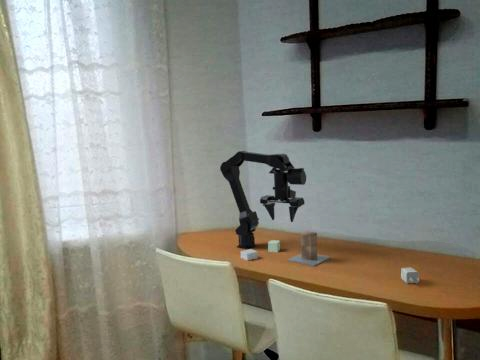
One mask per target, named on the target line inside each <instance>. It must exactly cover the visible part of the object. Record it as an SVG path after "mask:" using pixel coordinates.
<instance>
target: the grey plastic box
mask: <svg viewBox="0 0 480 360" xmlns="http://www.w3.org/2000/svg"><path fill="white" fill-rule="evenodd" d="M258 256H259V255H258V251H257V250H254V249H252V248H249V249H245V250H244V249H243V250H240V259H242V258H243V259H242V260H245V261H246V262H247V261H248V260H249V261H251V260H252V259H253V260H256V259H259V257H258ZM253 260H252V261H253Z"/></svg>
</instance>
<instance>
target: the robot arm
mask: <svg viewBox="0 0 480 360" xmlns="http://www.w3.org/2000/svg"><path fill="white" fill-rule="evenodd" d="M244 162H252V163H258V164H265V165H267V166H268V167H271V170H269V172H268V174H271V175H272V174H273V183H274V186H273V187H272V190H274V195H262V196H261V197H260V198H259V204H261V205H262V206H263V207H264V209H265V210H267V213H268V214H269V216H270V218H271V220H272V221H274V220H275V218H276V217H275V207H276V206H275V205H276V203H278V204H279V203H280V204H289V206H288V210H289V211H288V213H289V221H290V223H293V222H294V220H295V217H296V213H297V212H298V209H299V208H301V207H302V206H303V205H305V202H306V201H305V199H304V197H297V196H296V195H297V191H296V190H293V189H291V185H294V186H296V185H298V186H299V185H301V186H304V185H306V183H307V173H306V171H305V168H304V167H298V168H297V167H296V168H295V166H294V165H293V164H292V162H291V160H290V158H289V156H288V155H287V154H286V153H273V154H268V153H259V152H253V151H246V150H240V151H237V152H236V153H235V154H234V155H232V156H231V157H230V158H229V159H227V160H226V161H223V162H222V163H221V164H220V167H219V171H220V172H221V174H222V176H223V178H224V179H225V180H226V181H228V183H229V184H228V185H229V186H230V190H231V193H232V195H233V198H234V200H235V203H236V207H237V209H238V212H239V215H238V216H239V217H238V222H239V225H238V227H236V229H235V230H234V231H235V234H236V235H238V245H236V248H240V249H245V250H249V249H252V248H255V247H256V246H257V244H256V243H255V242H256V241H255V240H256V239H255V236H254V235H255V234H254V232H256V229H257V228H258V226H259V224H260V223H259V220H260V218H259V217H258V214H257V211H253V210H252V209H251V208H250V206H249V203H248V199H247V197H246V195H245V194H246V193H245V192H244V188H243V186H242V183H241V180H240V173H241V171H240V167H241V166H242V165H243V164H244Z"/></svg>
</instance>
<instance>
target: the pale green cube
mask: <svg viewBox="0 0 480 360" xmlns="http://www.w3.org/2000/svg"><path fill="white" fill-rule="evenodd" d="M267 245H268V246H267V250H268V251H267V252H271V253H278V252H279V251H280V250H281V241H280V240H277V239H276V240H275V239H270V240H269V241H268V242H267Z"/></svg>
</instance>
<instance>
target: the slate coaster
mask: <svg viewBox="0 0 480 360" xmlns="http://www.w3.org/2000/svg"><path fill="white" fill-rule="evenodd" d="M331 258H332V257H331V256H328V255H321V254H318V253H317V258H316V259H313V260H306V259H301V253H299V254H297V255H294V256H292V257H290V258H288V259H287V261H288V262H292V263H296V264H297V263H298V264H301V265H305V266H306V265H307V266H310V267H316V266H318V265H320V264H321V263H325V262H326V261H328V260H330V259H331Z"/></svg>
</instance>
